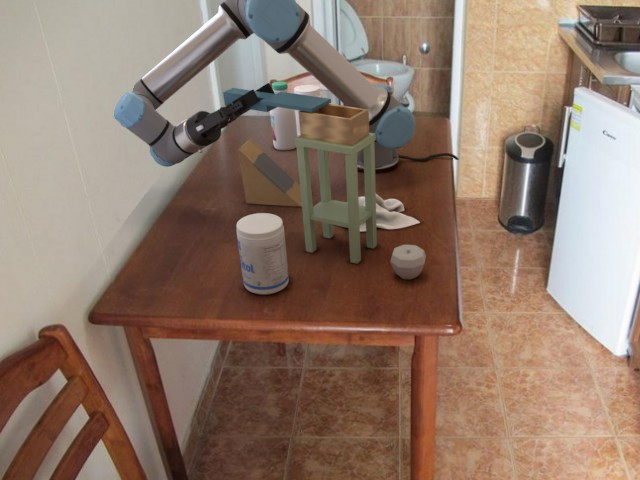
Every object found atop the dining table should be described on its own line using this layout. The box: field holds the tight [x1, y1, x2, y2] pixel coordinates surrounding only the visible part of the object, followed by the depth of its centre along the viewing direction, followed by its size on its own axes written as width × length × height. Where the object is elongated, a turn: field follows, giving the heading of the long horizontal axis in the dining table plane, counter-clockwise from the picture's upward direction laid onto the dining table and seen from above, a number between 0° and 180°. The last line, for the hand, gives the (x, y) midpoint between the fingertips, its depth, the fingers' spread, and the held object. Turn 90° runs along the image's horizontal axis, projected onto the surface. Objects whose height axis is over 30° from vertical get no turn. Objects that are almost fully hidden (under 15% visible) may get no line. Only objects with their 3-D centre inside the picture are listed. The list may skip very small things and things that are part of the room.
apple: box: [389, 244, 427, 280], centre depth 143 cm, size 8×8×7 cm
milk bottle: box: [269, 81, 297, 151], centre depth 206 cm, size 8×8×20 cm
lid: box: [222, 87, 332, 113], centre depth 143 cm, size 24×8×3 cm, turn 64°
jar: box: [293, 84, 323, 137], centre depth 218 cm, size 12×10×15 cm
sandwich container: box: [237, 138, 302, 208], centre depth 174 cm, size 9×15×15 cm, turn 81°
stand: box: [294, 133, 378, 265], centre depth 147 cm, size 14×10×27 cm
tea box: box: [299, 103, 369, 146], centre depth 139 cm, size 12×8×5 cm, turn 64°
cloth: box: [358, 193, 421, 233], centre depth 167 cm, size 22×19×6 cm
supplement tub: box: [235, 212, 290, 295], centre depth 137 cm, size 10×10×15 cm
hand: (263, 92), depth 143 cm, fingers open, 5 cm apart
